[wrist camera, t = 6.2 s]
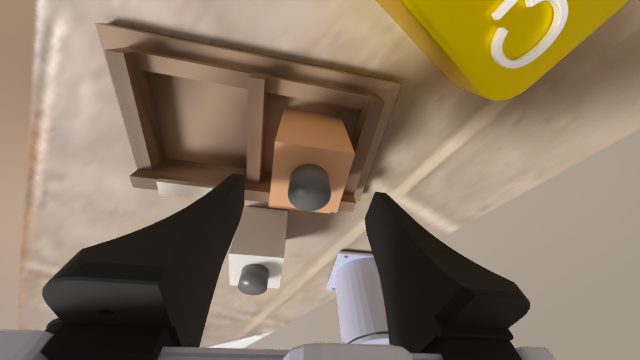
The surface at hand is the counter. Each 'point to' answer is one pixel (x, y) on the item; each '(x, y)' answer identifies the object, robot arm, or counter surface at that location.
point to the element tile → (498, 37)
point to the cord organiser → (230, 112)
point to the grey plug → (258, 250)
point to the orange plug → (310, 162)
